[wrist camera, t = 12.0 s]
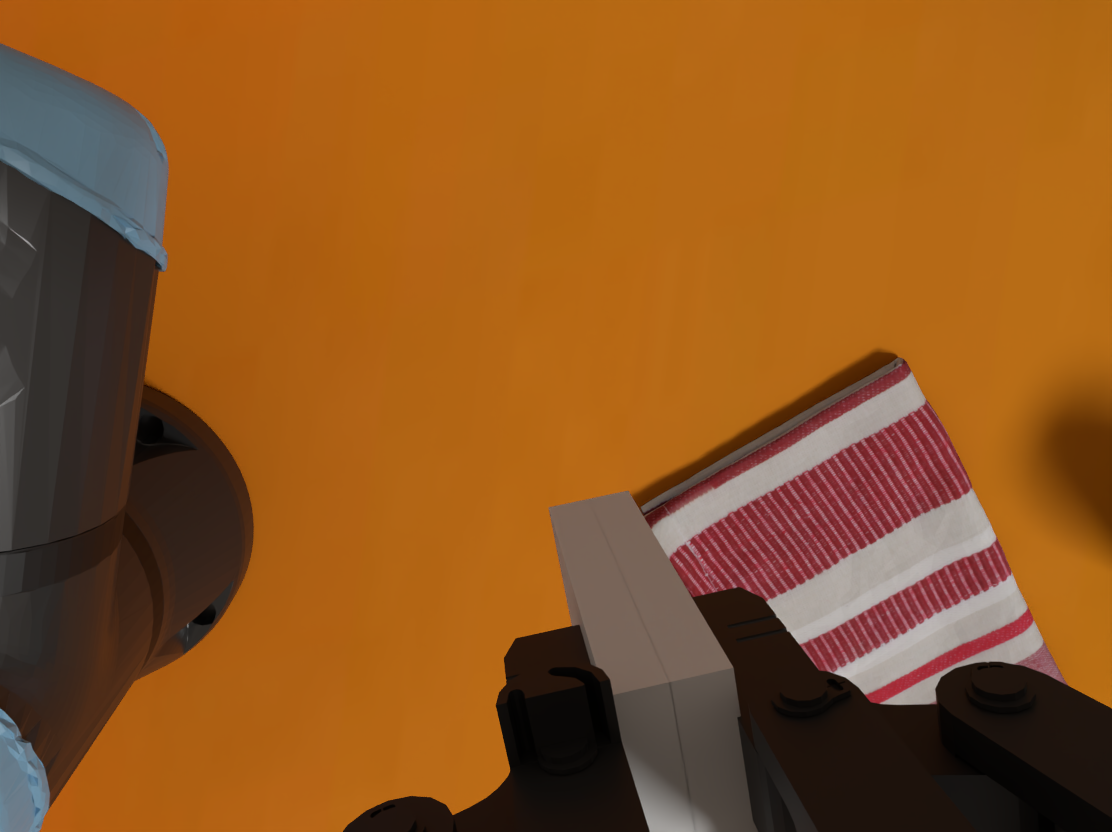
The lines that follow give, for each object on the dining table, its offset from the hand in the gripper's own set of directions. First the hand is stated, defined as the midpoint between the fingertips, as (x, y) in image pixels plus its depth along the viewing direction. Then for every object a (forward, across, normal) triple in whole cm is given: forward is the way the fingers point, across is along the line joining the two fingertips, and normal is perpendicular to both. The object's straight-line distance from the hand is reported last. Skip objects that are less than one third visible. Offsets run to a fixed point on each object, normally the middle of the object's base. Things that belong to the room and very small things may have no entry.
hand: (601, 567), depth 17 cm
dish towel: (+30, +16, -19) cm, 39 cm away
